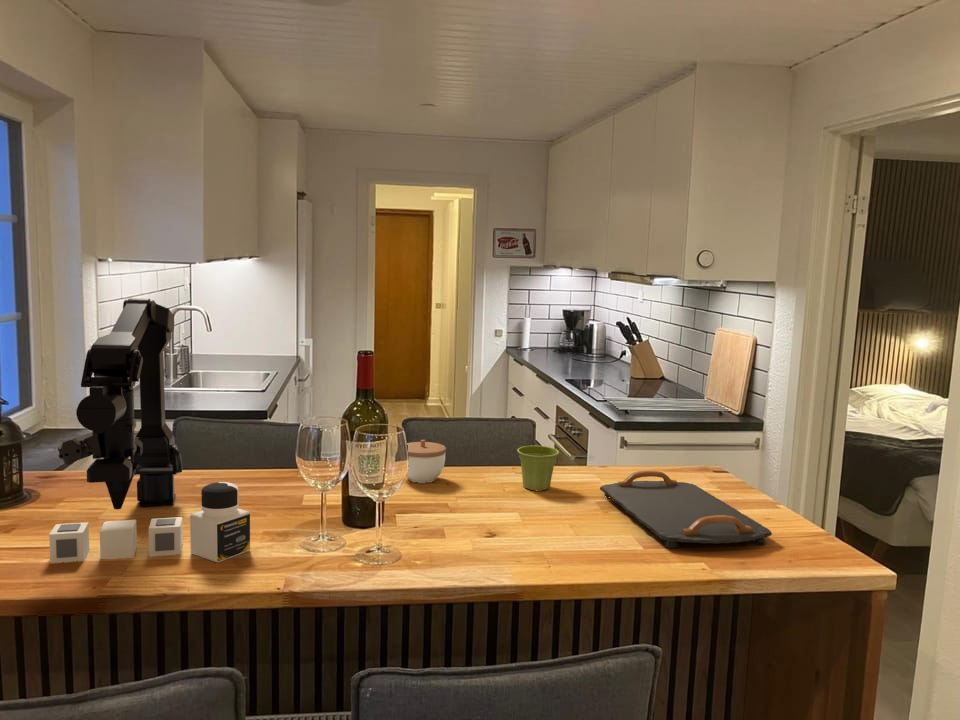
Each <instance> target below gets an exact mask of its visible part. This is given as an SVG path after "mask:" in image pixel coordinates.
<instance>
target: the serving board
mask: <svg viewBox="0 0 960 720" xmlns="http://www.w3.org/2000/svg"><path fill="white" fill-rule="evenodd" d="M647 477H653V478H654V477H655V478H662V479H663V480H636V479H639V478H647ZM599 490H600V491H601V492H602V493H604V497H605V496H606V497H610V498H611V500H612V501H613V502H614V503H616V504H617V505H619V506H620V507H621V508H622V509H623V510H625V511H626V512H627V513H628V514H629V515H631V516H632V517H633V518H634V519H636V521H637V522H638V523H640V524H642V525H643V526H646V528H647V529H649V530H650V531H651V532H652V533H654V534H655V535H656V536H657V537H658V538H660V539H661V540H663V541H666V542H665V547H666V548H667V549H668V550H671V549H673V550H674V549H675V550H677V549H678V547H679V545H678V543H690V544H692V543H693V544H735V543H737V544H738V543H742V542H744V543H746V542H750V541H753V543H754V544H755V545H757V546H764V545H765V544H766V538H767V537H771V536H772V535H773V534H772V531H771V530H770V529H769V528H767V527H766V526H764V525H763V524H761V523H759V522H758V521H756V520H754V519H752V518H750V517H749V516H748V515H746V514H744V513H742V512H740V511H739V510H738V509H736V508H735V507H733V506H731V505H729V504H727V503H726V502H725V501H723V500H721V499H720V498H717V497H716V496H715V495H713V494H712V493H709V492H708V491H706V490H704V489H703V488H701V487H699V486H698V485H696V484H694V483H689V482H683V481H677V480H676V479H671V478H670V476H668V475H667V473H664V472H662V471H658V470H640V471H634V472H632V473H631V474H629V475H628V476H627V477H626V478H625V479H624V480H622V481H618V482H614V483H610V484H609V483H607V484H604V485H602V486H601V485H600V487H599ZM606 497H605V498H606ZM610 498H609V499H610Z"/></svg>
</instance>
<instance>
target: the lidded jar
mask: <svg viewBox="0 0 960 720" xmlns="http://www.w3.org/2000/svg"><path fill="white" fill-rule="evenodd" d="M407 445H408V453H409V471H408V475H407V476H406V477H407V478H408V481H409V480H410V481H409V482H411V481H412V482H411V483H414V482H418V483H417V484H427V483H426V482H431V483H433V482H432V481H434V480H435V481H436V479H437V478H438V477H439V476H440V475H441V474H442V472H443V470H444V467H445V463H446V452H447V448H446V446H445V445H444V444H441V443H438V442H432V441H431V442H430V441H426V439H420V441H413V442H407ZM435 481H434V482H435Z"/></svg>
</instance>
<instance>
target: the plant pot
mask: <svg viewBox="0 0 960 720" xmlns="http://www.w3.org/2000/svg"><path fill="white" fill-rule="evenodd" d="M516 451H517V453H518V457H519V459H520V466H521V467H520V468H521V475H522V476H521V479H522V487H523V488H524V489H528V490H529V489H530V491H532V490H543V491H544V490H549V489H550V488H551V482H552V477H553V473H554V472H553V471H554V468H555V463H556V460H557V456H559V454H560V451H559V450H558V449H556V448H554V447H550V446H545V445H525V446H520V447H519V448H517V450H516Z"/></svg>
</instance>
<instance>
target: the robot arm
mask: <svg viewBox="0 0 960 720" xmlns="http://www.w3.org/2000/svg"><path fill="white" fill-rule="evenodd" d="M174 330H175V316H174V314H173V313H172V311H171V310H170V308H168V307H166V306H162V305H161V304H158V303H156V301H155V300H154V299H150V298H137V297H136V298H135V297H134V298H131V297H130V298H127V299H124V300H123V304H122V310H121V313H120V314H119V316H118V318H117V320H116V322H115V324H114V325H113V327H112V329H111V331H110V332H109V334H105V335H103V336H100V337H98V338H97V339H96V340H95V341H94V342H93V343H92V345H91V347H90V349H89V348H88V350H87V352H86V355H85V356H86V357H85V361H84V366H83V370H82V377H81V382H80V387H81V388H89V390H88V391H89V395H87V396H85V397H84V398H82V400H80V401H79V403H78V406H77V408H76V410H75V411H76V412H75V414H76V418H77V421H78V423H79V424H81V426H82V427H83V428H85V429H87V430H89V431H90V432H88V433H85V434H83V435H80V436H77V437H74V436H73V437H71V438H70V439H68V440H67V439H65V440H63V441H62V443H61V444H60V445H59V446H58V447H57V451H58V458H59V459H60V460H62V461H63V463H64V465H65V466H70V465H72V464H74V463H75V462H77V461H80V460H82V459H85V458H88V457H90V456H92V459H93V460H94V461H93V462H92V463H91V464H90V465H89V466H88V467H87V469H86V482H87V483H89V484H90V483H91V484H92V483H94V484H95V483H105V486H106V489H107V491H108V495H109V497H110V500H111V503H112V507H113V509H114V510H121V509H122V508H123V505H124V503H125V500H126V498H127V495H128V492H129V489H130V488H131V484H132V482H133V479H134V476H137V475H139V478H138V479H137V481H136V501H137V502H138V506H139V507H155V506H171V505H174V504H175V500H176V496H177V494H176V492H175V476H176V475H177V474H179V473H182V472H183V461H182V455H181V452H180V451H179V447H178V445H177V444H176V443H175V434H174V432H173V431H172V430H171V428H170V427H169V425H168V424H167V422H166V401H165V399H166V397H165V396H166V395H165V369H164V368H165V366H164V364H165V363H164V362H165V361H164V352H165V350H166V348H167V347H168V345H169V343H170V342H171V340H172V334H173V333H174ZM137 382H139V397H140V398H139V399H140V401H139V404H140V428H139V430H138V432H137V434H136V435H135V428H136V427H137V420H136V419H135V408H134V407H135V396H134V393H135V392H134V390H135V389H134V387H135V386H136V383H137Z"/></svg>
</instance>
